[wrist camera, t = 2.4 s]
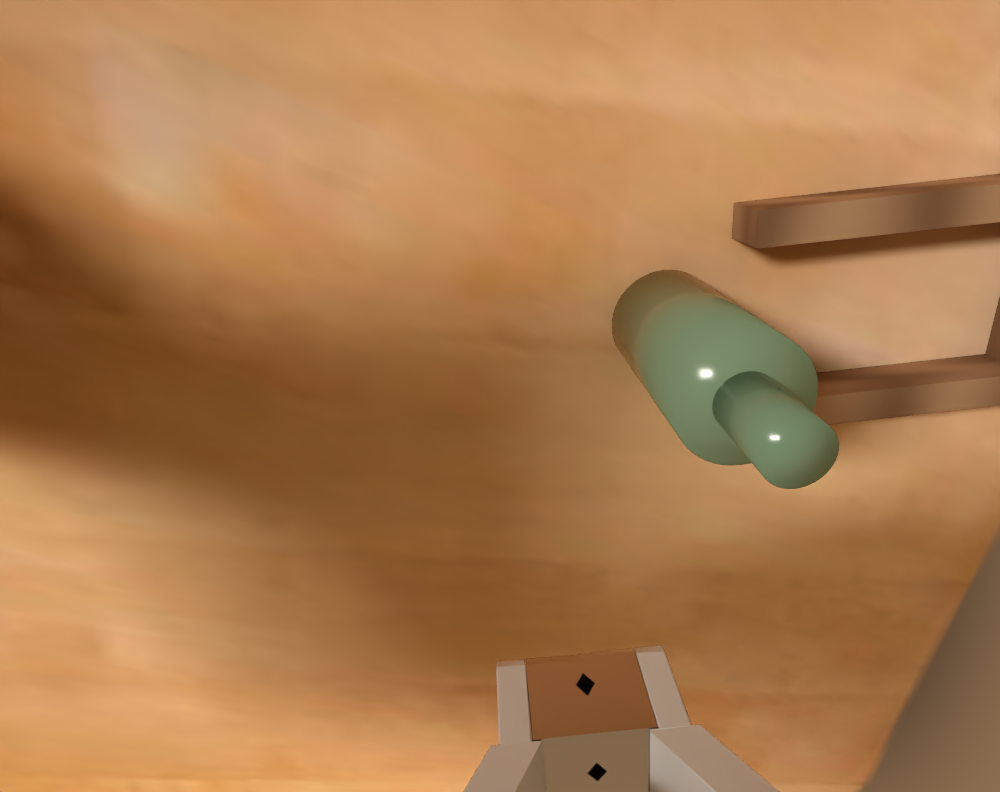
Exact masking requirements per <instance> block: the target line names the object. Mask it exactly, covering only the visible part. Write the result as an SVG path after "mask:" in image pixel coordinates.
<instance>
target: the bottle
mask: <svg viewBox="0 0 1000 792" xmlns="http://www.w3.org/2000/svg"><path fill="white" fill-rule="evenodd" d="M612 334H613V338H614V341H615V344H616V346H617V348H618V349H619V351H620V352H621V354H622V355H623V357H624V358H625V360H626V361H627V363H628V364H629V365H630V367H631V368H632V370H633V371H634V373H635V374H636V376H637V377H638V379H639V380H640V381H641V383H642V384H643V386H644V387H645V389H646V390H647V392H648V393H649V394H650V396H651V397H652V399H653V400H654V402H655V403H656V405H657V406H658V407H659V409H660V410H661V412H662V413H663V415H664V416H665V418H666V419H667V421H668V422H669V423H670V425H671V426H672V428H673V429H674V431H675V432H676V434H677V435H678V436H679V438H680V439H681V441H682V442H683V443H684V445H685V446H686V447H687V448H688V449H689V450H690V451H691V452H692V453H694V454H695V455H697V456H698V457H700V458H702V459H704V460H706V461H709V462H712V463H715V464H721V465H743V464H749V463H752V464H753V465H754V466H755V467H756V468H757V469H758V471H759V472H760V473H761V474H762V475H763V476H764V478H765V479H766V480H767V481H768V482H769V483H771V484H772V485H774V486H777V487H780V488H785V489H796V488H801V487H805V486H807V485H810V484H812V483H814V482H816V481H817V480H819V479H820V478H821V477H823V476H824V475H825V474H826V473H827V472H828V471H829V470H830V468H831V467H832V465H833V464H834V462H835V460H836V458H837V455H838V450H839V442H838V438H837V435H836V433H835V432H834V430H833V429H832V428H831V427H830V426H829V425H828V424H826V423H825V422H824V421H823V420H821V419H820V418H819V417H818V416H817V415H815V414H814V413H813V409H814V406H815V403H816V399H817V393H818V380H817V374H816V370H815V367H814V365H813V362H812V360H811V359H810V357H809V356H808V354H807V353H806V352H805V351H804V350H803V349H802V348H801V347H800V346H799V345H797V344H796V343H795V342H793V341H792V340H790V339H789V338H787V337H786V336H784V335H783V334H781V333H780V332H778V331H777V330H775V329H774V328H772V327H771V326H769V325H767V324H766V323H764V322H763V321H761V320H760V319H758V318H757V317H755V316H754V315H752V314H751V313H749V312H748V311H746V310H745V309H743V308H742V307H740V306H738V305H737V304H735V303H734V302H732V301H731V300H729V299H728V298H726V297H725V296H723V295H722V294H720V293H719V292H717V291H716V290H714V289H713V288H711V287H710V286H708V285H706V284H705V283H703V282H702V281H700V280H699V279H697V278H696V277H694V276H692V275H691V274H688V273H686V272H682V271H678V270H662V271H656V272H653V273H650V274H648V275H645V276H643V277H642V278H640V279H638V280H637V281H636V282H634V283H633V284H632V285H631V286H630V287H629V288H628V289H627V290H626V291H625V292H624V293H623V295H622V296H621V298H620V299H619V301H618V303H617V305H616V307H615V310H614V313H613V319H612Z"/></svg>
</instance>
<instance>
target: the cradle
mask: <svg viewBox="0 0 1000 792" xmlns="http://www.w3.org/2000/svg"><path fill="white" fill-rule="evenodd" d="M996 222H1000V174H995V175H985V176H976V177H967V178H958V179H949V180H939V181H930V182H921V183H912V184H902V185H893V186H884V187H875V188H866V189H856V190H847V191H838V192H829V193H820V194H810V195H801V196H792V197H783V198H773V199H764V200H755V201H746V202H737V203H734V211H733V228H732V238H733V239H735V240H738V241H740V242H742V243H745V244H747V245H749V246H752V247H754V248H757V249H758V248H767V247H777V246H786V245H795V244H804V243H813V242H822V241H831V240H841V239H850V238H859V237H868V236H877V235H886V234H895V233H905V232H914V231H923V230H932V229H941V228H950V227H960V226H969V225H978V224H987V223H996ZM816 374H817V380H818V393H817V399H816V403H815V406H814V409H813V413H814V414H815V415H817V416H818V417H819V418H820V419H821V420H823V421H824V422H825V423H826V424H828V425H829V424H838V423H847V422H856V421H865V420H874V419H883V418H892V417H901V416H909V415H918V414H927V413H936V412H945V411H954V410H963V409H972V408H981V407H990V406H998V405H1000V298H999V302H998V306H997V310H996V314H995V318H994V322H993V326H992V330H991V334H990V338H989V342H988V346H987V350H986V354H982V355H973V356H964V357H955V358H946V359H937V360H928V361H919V362H910V363H902V364H893V365H884V366H875V367H866V368H857V369H848V370H839V371H830V372H821V373H816Z"/></svg>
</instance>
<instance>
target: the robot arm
mask: <svg viewBox="0 0 1000 792" xmlns="http://www.w3.org/2000/svg"><path fill="white" fill-rule="evenodd" d="M525 662H526V666H525ZM526 674H527V675H526ZM496 675H497V702H498V729H499V745H494V746H490V748H489V750H488V751H487V753H486V755H485V756H484V758H483V760H482V761H481V763H480V765H479V766H478V768H477V770H476V771H475V773H474V775H473V776H472V778H471V780H470V781H469V783H468V785H467V786H466V788H465V790H464V791H463V792H779V791H778V790H777V789H776V788H775V787H773V786H772V785H771V784H770V783H769V782H768V781H766V780H765V779H764V778H763V777H762V776H761V775H759V774H758V773H757V772H756V771H755V770H753V769H752V768H751V767H750V766H749V765H748V764H746V763H745V762H744V761H743V760H742V759H741V758H739V757H738V756H737V755H736V754H735V753H734V752H732V751H731V750H730V749H729V748H728V747H726V746H725V745H724V744H723V743H722V742H721V741H719V740H718V739H717V738H716V737H715V736H714V735H712V734H711V733H710V732H709V731H708V730H706V729H705V728H704V727H703V726H702V725H701V724H700V725H692V724H691V721H690V718H689V716H688V713H687V710H686V708H685V705H684V702H683V699H682V697H681V694H680V691H679V689H678V686H677V683H676V680H675V678H674V675H673V672H672V670H671V667H670V664H669V661H668V659H667V656H666V653H665V651H664V649H663V648H662V647H661V645H656V646H647V647H638V648H633V649H632V648H626V649H618V650H609V651H601V652H592V653H583V654H578V655H570V656H556V657H543V658H530V659H523V660H510V661H498V662H497V668H496Z"/></svg>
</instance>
